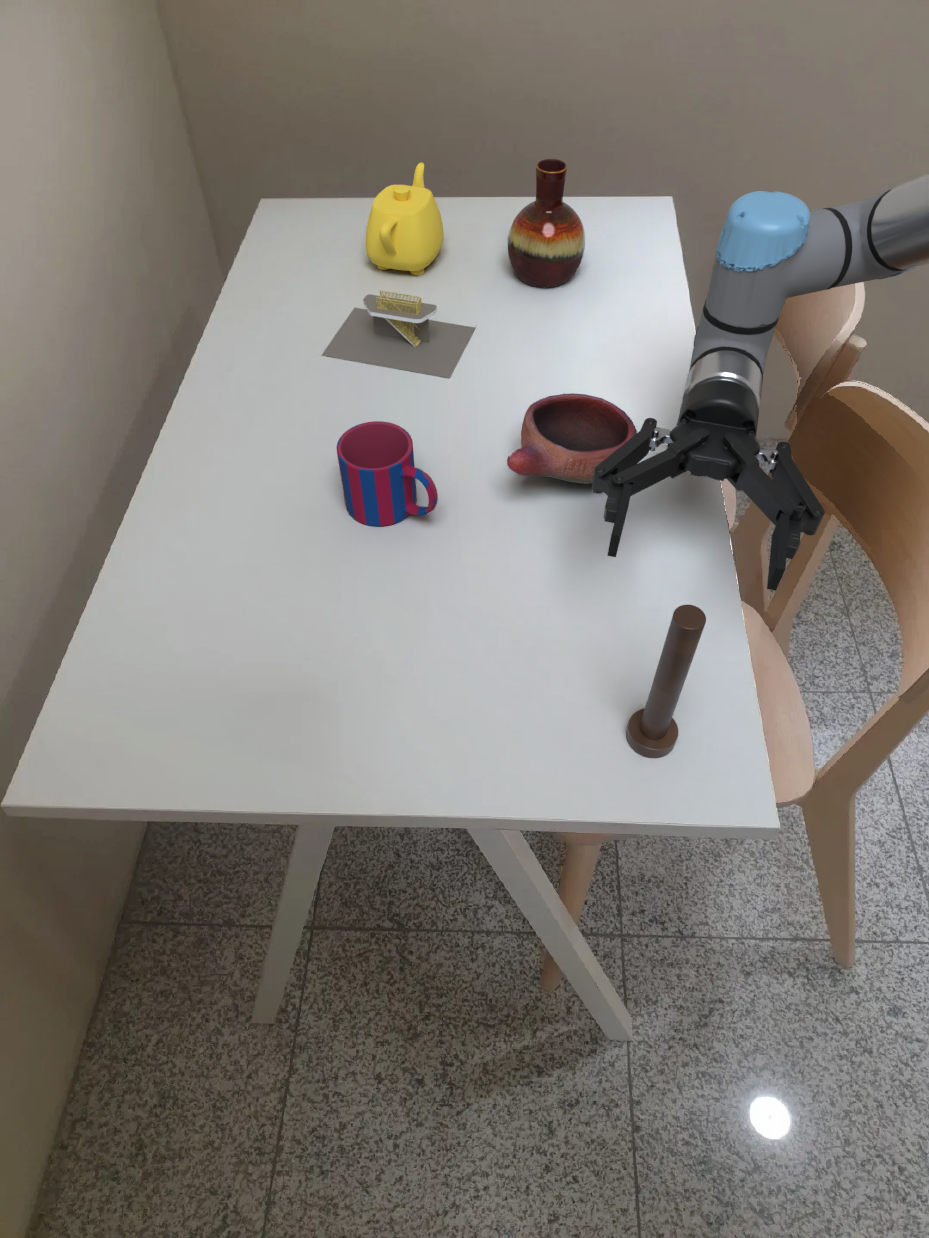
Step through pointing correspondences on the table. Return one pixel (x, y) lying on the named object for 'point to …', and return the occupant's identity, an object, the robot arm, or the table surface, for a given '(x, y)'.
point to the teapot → (404, 227)
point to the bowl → (569, 437)
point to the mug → (381, 474)
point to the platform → (400, 336)
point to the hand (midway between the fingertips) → (693, 562)
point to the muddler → (667, 686)
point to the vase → (547, 232)
